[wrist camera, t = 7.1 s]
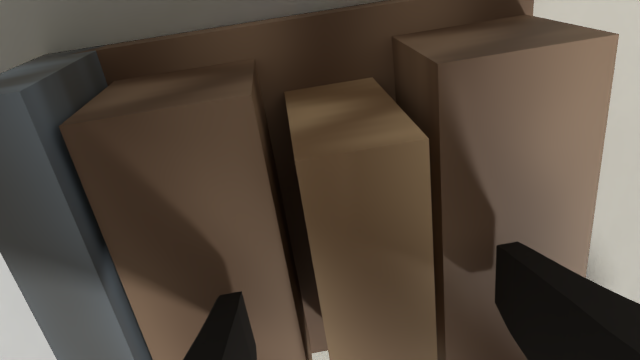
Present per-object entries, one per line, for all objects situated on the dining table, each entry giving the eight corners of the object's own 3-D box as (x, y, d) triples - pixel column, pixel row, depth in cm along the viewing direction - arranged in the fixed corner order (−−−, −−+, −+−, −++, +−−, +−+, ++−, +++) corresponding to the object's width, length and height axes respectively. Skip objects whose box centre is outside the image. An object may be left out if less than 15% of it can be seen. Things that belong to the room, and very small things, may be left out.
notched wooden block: (519, -21, 16) (651, -11, 10) (505, 300, 22) (583, 412, 17) (44, 54, 15) (-77, 106, 10) (164, 363, 21) (131, 500, 16)
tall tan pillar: (372, 77, 16) (429, 138, 10) (392, 307, 20) (440, 434, 15) (284, 91, 16) (294, 161, 10) (324, 319, 20) (346, 453, 15)
